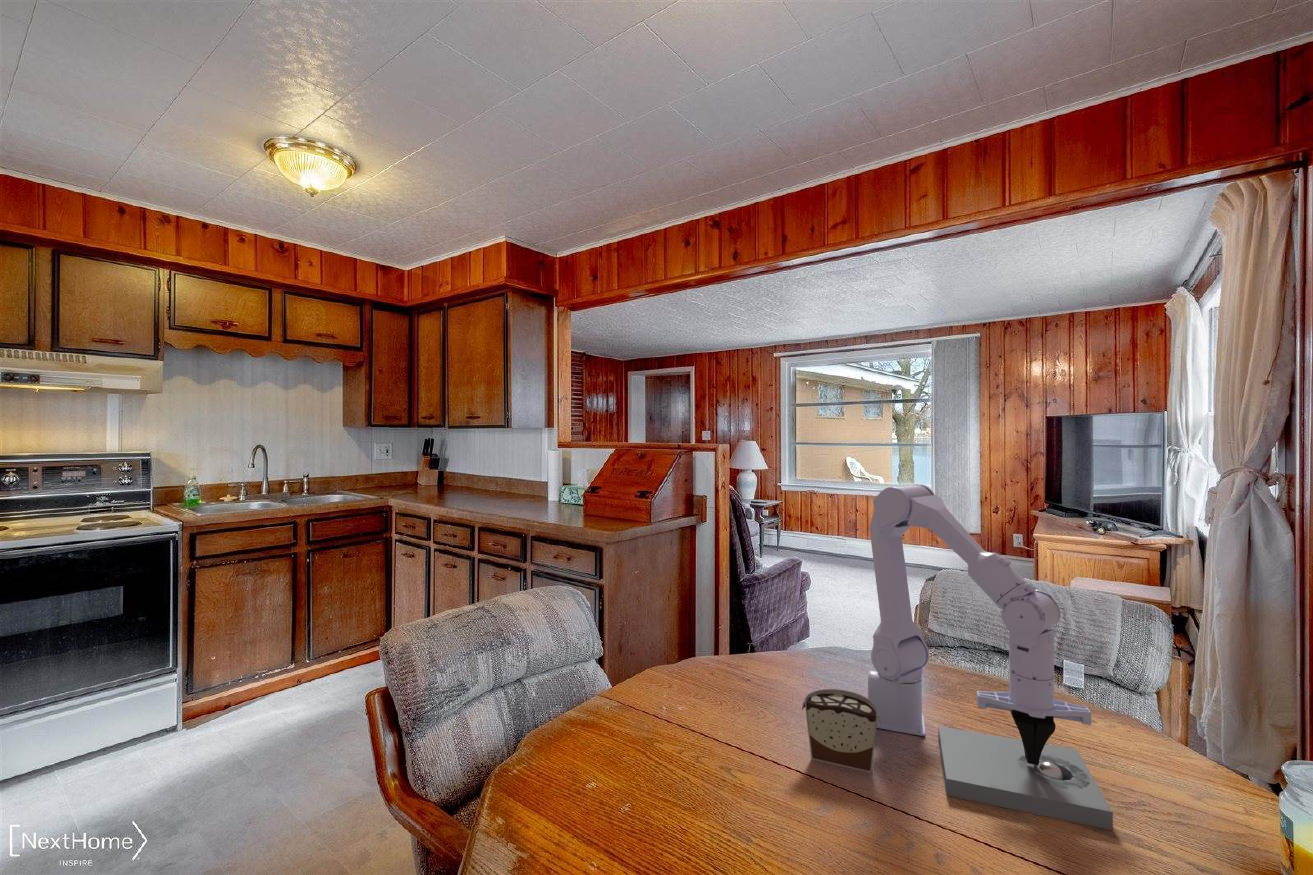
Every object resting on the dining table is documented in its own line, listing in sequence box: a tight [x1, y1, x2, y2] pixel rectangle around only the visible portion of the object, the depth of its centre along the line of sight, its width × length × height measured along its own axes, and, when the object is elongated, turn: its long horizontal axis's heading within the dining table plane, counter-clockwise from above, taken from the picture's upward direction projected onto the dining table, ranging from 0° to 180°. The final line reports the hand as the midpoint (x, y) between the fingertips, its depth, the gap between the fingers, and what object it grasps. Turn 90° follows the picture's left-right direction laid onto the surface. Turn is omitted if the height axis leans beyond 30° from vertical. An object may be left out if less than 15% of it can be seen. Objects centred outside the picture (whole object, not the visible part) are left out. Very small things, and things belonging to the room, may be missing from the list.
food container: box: [801, 688, 881, 774], centre depth 94 cm, size 12×6×10 cm, turn 65°
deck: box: [937, 725, 1114, 831], centre depth 87 cm, size 20×16×2 cm
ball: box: [1036, 761, 1064, 781], centre depth 85 cm, size 4×4×4 cm
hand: (1031, 760), depth 86 cm, fingers closed
